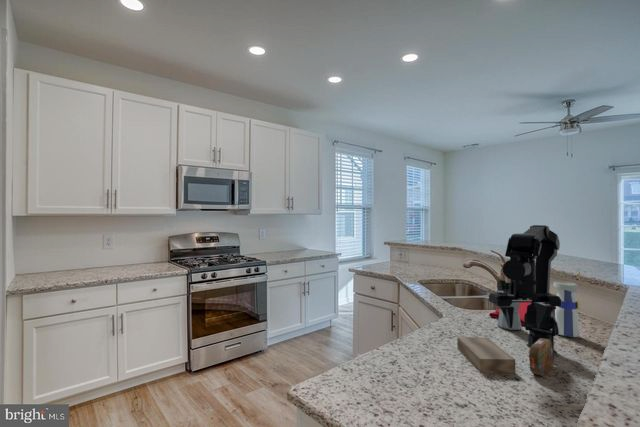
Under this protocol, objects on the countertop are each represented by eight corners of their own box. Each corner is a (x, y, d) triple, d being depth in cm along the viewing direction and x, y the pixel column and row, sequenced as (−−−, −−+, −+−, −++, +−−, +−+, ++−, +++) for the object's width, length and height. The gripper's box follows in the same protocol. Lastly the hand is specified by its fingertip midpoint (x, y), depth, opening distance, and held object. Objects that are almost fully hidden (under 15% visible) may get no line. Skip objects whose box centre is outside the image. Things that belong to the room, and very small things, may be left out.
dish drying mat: (488, 316, 148) (488, 308, 148) (529, 303, 171) (529, 296, 171) (525, 326, 135) (525, 317, 135) (565, 310, 158) (565, 302, 158)
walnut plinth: (487, 349, 111) (487, 337, 111) (515, 373, 94) (515, 359, 94) (457, 348, 111) (457, 337, 111) (480, 372, 94) (480, 358, 94)
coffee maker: (529, 332, 127) (529, 286, 127) (507, 332, 127) (507, 286, 127) (508, 320, 142) (508, 278, 142) (488, 319, 142) (488, 278, 142)
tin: (540, 380, 90) (539, 350, 90) (527, 376, 92) (526, 346, 92) (555, 364, 100) (555, 336, 100) (543, 360, 102) (543, 334, 102)
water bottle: (577, 331, 128) (576, 267, 128) (583, 338, 120) (582, 271, 121) (551, 328, 132) (551, 266, 132) (555, 334, 124) (555, 269, 124)
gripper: (537, 271, 106) (537, 319, 106) (480, 271, 106) (480, 319, 106) (562, 278, 95) (563, 331, 95) (498, 277, 95) (498, 331, 95)
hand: (524, 327), depth 98 cm, fingers open, 8 cm apart
